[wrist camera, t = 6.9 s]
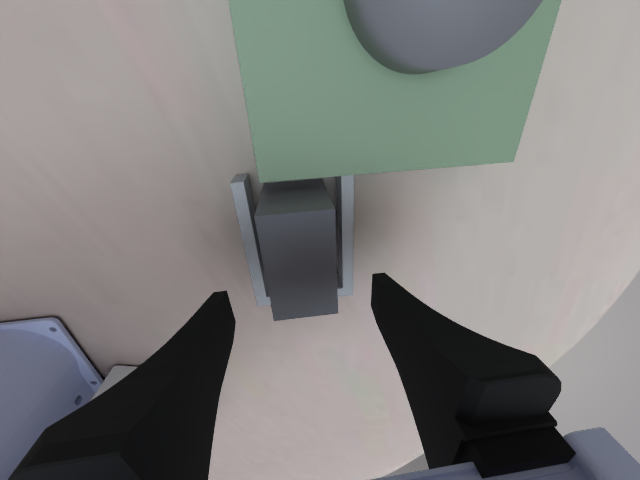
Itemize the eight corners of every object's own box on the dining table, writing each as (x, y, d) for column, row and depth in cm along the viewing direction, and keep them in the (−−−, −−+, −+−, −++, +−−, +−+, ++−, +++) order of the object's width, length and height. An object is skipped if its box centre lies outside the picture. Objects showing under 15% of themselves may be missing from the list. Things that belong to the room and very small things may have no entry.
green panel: (459, 267, 23) (504, 310, 18) (259, 289, 22) (252, 342, 17) (563, -160, 12) (753, -341, 7) (164, -165, 11) (61, -390, 6)
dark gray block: (325, 261, 21) (338, 313, 16) (277, 266, 21) (274, 320, 16) (321, 178, 18) (335, 209, 13) (264, 183, 18) (254, 216, 13)
